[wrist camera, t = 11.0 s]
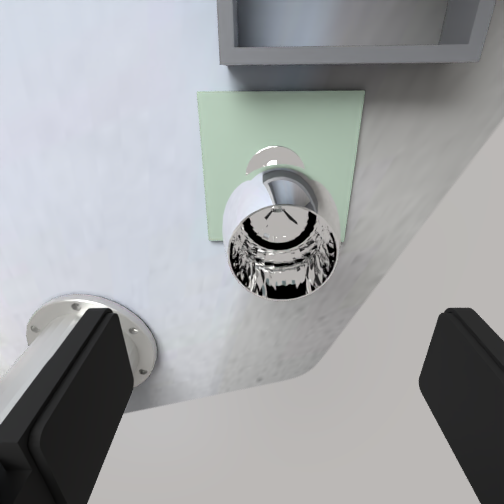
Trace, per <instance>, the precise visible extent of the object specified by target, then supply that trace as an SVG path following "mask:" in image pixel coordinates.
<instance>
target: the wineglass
mask: <svg viewBox="0 0 504 504" xmlns="http://www.w3.org/2000/svg"><path fill="white" fill-rule="evenodd" d="M222 236H223V244H224V250H225V254H226V258H227V261H228V264H229V267H230V269H231V272H232V274H233V275H234V277H235V278H236V280H237V281H238V283H239V284H241V285H242V286H243V287H244V288H245V289H246V290H247V291H249V292H251V293H253V294H255V295H256V296H258V297H261V298H264V299H268V300H274V301H289V300H295V299H299V298H303V297H305V296H307V295H310V294H312V293H313V292H315V291H316V290H318V289H319V288H321V287H322V286H323V285H324V284H325V283H326V282H327V281H328V280H329V278H330V277H331V275H332V274H333V272H334V270H335V267H336V265H337V262H338V256H339V250H340V240H341V230H340V220H339V215H338V211H337V207H336V204H335V202H334V199H333V197H332V195H331V193H330V191H329V190H328V188H327V187H326V186H325V185H324V183H323V182H322V181H320V180H319V179H318V178H317V177H316V176H314V175H313V174H311V173H310V172H308V171H307V170H305V166H304V163H303V161H302V159H301V158H300V156H299V155H298V154H297V153H296V152H295V151H293V150H292V149H290V148H287V147H285V146H279V145H273V146H268V147H265V148H263V149H261V150H259V151H258V152H256V153H255V154H254V155H253V156H252V158H251V159H250V161H249V162H248V164H247V168H246V172H245V177H244V178H243V179H242V180H241V181H240V182H239V183H238V184H237V185H236V187H235V188H234V189H233V190H232V192H231V194H230V196H229V197H228V200H227V202H226V205H225V208H224V213H223V221H222Z"/></svg>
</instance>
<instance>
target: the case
mask: <svg viewBox="0 0 504 504" xmlns="http://www.w3.org/2000/svg"><path fill="white" fill-rule="evenodd" d="M495 3H496V0H449V1H448V6H447V10H446V15H445V19H444V23H443V28H442V32H441V37H440V41H439V45H379V46H302V47H238V9H237V0H217V15H218V36H219V56H220V65H226V66H237V65H328V64H419V63H462V62H479V60H480V56H481V53H482V49H483V46H484V42H485V39H486V35H487V31H488V28H489V24H490V21H491V17H492V14H493V10H494V6H495Z"/></svg>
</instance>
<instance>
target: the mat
mask: <svg viewBox="0 0 504 504" xmlns="http://www.w3.org/2000/svg"><path fill="white" fill-rule="evenodd" d="M364 96H365V90H338V91H214V92H197V100H198V113H199V125H200V137H201V150H202V162H203V174H204V187H205V199H206V212H207V224H208V236H209V241H223V236H222V221H223V213H224V208H225V205H226V202H227V200H228V197H229V196H230V194H231V192H232V190H233V189H234V188H235V187H236V185H237V184H238V183H239V182H240V181H241V180H242V179H243V178H244V177H245V172H246V168H247V164H248V162H249V161H250V159H251V158H252V156H253V155H254V154H255V153H256V152H258V151H259V150H261V149H263V148H265V147H268V146H273V145H279V146H285V147H287V148H290V149H292V150H293V151H295V152H296V153H297V154H298V155H299V156H300V158H301V159H302V161H303V163H304V166H305V170H307V171H308V172H310V173H311V174H313V175H314V176H316V177H317V178H318V179H319V180H320V181H322V182H323V183H324V185H325V186H326V187H327V188H328V190H329V191H330V193H331V195H332V197H333V199H334V202H335V204H336V207H337V211H338V215H339V220H340V230H341V240H340V242H344V238H345V230H346V223H347V216H348V209H349V202H350V195H351V188H352V181H353V174H354V167H355V160H356V153H357V146H358V138H359V131H360V124H361V117H362V110H363V103H364Z"/></svg>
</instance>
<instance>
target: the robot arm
mask: <svg viewBox="0 0 504 504" xmlns="http://www.w3.org/2000/svg"><path fill="white" fill-rule="evenodd" d="M26 337H27V342H28V346H29V347H28V348H27V349H26V350H25V352H24V353H23V354H22V355H21V356H20V357H19V359H18V360H17V361H16V362H15V363H14V364H13V366H12V367H11V368H10V369H9V370H8V371H7V372H6V374H5V375H4V376H3V377H2V378H1V379H0V504H87V502H88V500H89V497H90V495H91V493H92V490H93V488H94V485H95V483H96V480H97V478H98V475H99V472H100V470H101V467H102V465H103V463H104V460H105V457H106V455H107V453H108V450H109V448H110V445H111V442H112V440H113V438H114V435H115V433H116V430H117V428H118V425H119V423H120V420H121V418H122V415H123V413H124V410H125V408H126V405H127V403H128V400H129V398H130V395H131V393H132V390H133V388H134V387H137V386H138V385H140V384H141V383H143V382H144V381H145V380H146V379H147V378H148V377H149V376H150V374H151V372H152V370H153V368H154V365H155V362H156V359H157V347H156V342H155V340H154V338H153V335H152V333H151V332H150V330H149V329H148V327H147V326H146V325H145V323H144V322H143V321H142V320H141V319H140V318H138V317H137V316H136V315H135V314H134V313H132V312H131V311H129V310H128V309H127V308H125V307H123V306H121V305H119V304H117V303H115V302H113V301H110V300H107V299H104V298H102V297H97V296H92V295H83V294H72V295H63V296H60V297H57V298H53V299H51V300H50V301H48V302H46V303H44V304H43V305H42V306H41V307H40V308H39V309H38V310H37V311H36V312H35V313H34V314H33V316H32V317H31V318H30V320H29V322H28V325H27V331H26ZM419 387H420V390H421V392H422V395H423V396H424V398H425V400H426V402H427V404H428V406H429V408H430V409H431V411H432V413H433V415H434V417H435V419H436V421H437V423H438V424H439V426H440V428H441V430H442V432H443V434H444V436H445V438H446V439H447V441H448V443H449V445H450V447H451V449H452V451H453V452H454V454H455V456H456V458H457V460H458V462H459V464H460V466H461V467H462V469H463V471H464V473H465V475H466V477H467V479H468V480H469V482H470V484H471V486H472V488H473V490H474V492H475V494H476V495H477V497H478V499H479V501H480V503H481V504H504V341H503V340H502V339H501V338H500V337H499V336H498V335H497V334H496V333H495V332H494V331H493V330H492V329H491V328H490V327H489V325H488V324H487V323H486V322H485V321H484V320H483V319H482V318H481V317H480V316H479V315H478V314H477V313H476V312H475V311H474V310H473V309H471V308H448V309H446V310H445V312H444V313H441V314H440V315H439V317H438V320H437V324H436V327H435V330H434V333H433V336H432V339H431V342H430V346H429V349H428V352H427V355H426V358H425V361H424V364H423V368H422V371H421V374H420V377H419Z"/></svg>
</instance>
